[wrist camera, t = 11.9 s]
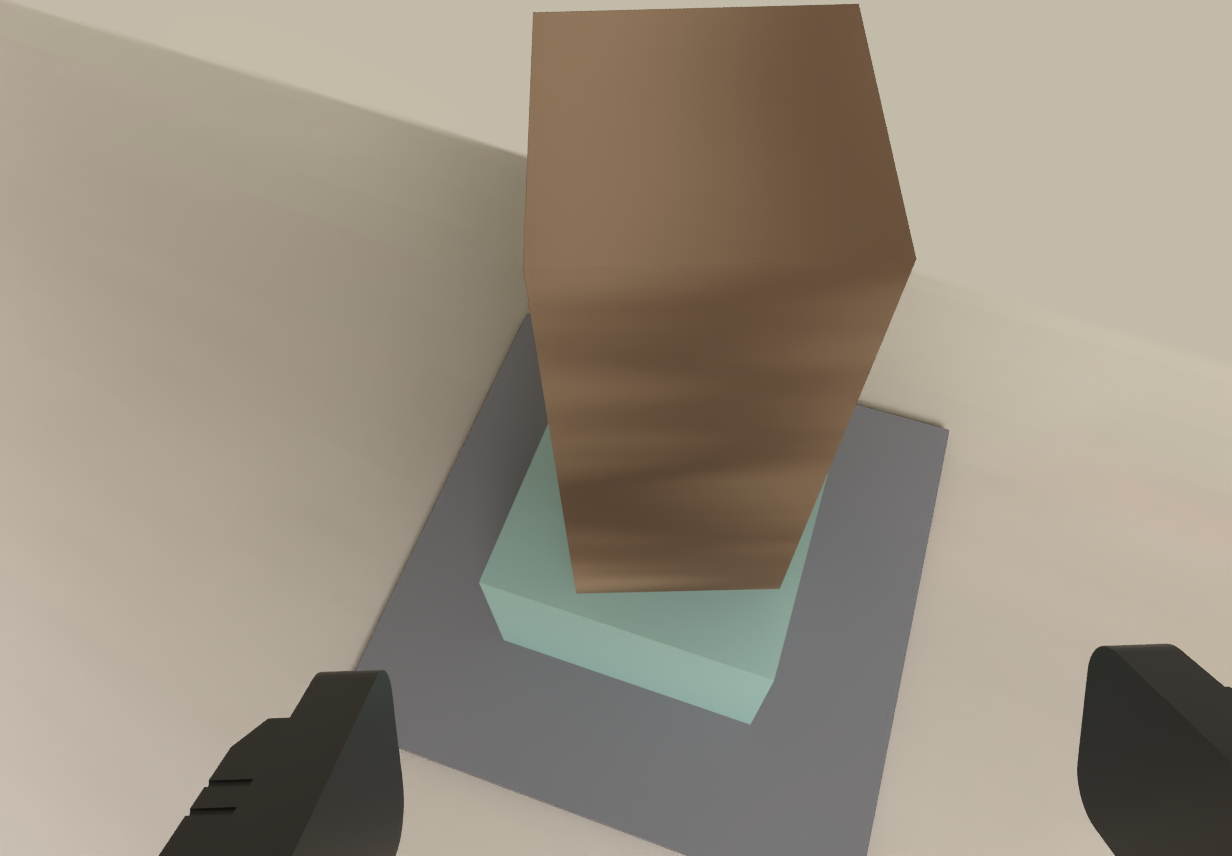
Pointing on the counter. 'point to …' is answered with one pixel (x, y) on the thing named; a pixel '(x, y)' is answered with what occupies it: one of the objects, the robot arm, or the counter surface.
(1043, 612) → the counter surface
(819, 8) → the pillar
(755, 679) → the plinth
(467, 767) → the mat
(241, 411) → the counter surface
